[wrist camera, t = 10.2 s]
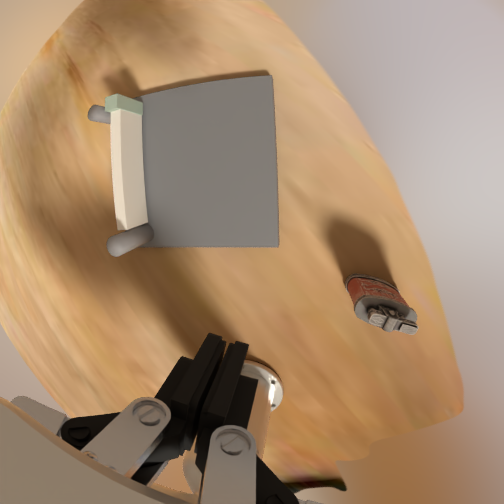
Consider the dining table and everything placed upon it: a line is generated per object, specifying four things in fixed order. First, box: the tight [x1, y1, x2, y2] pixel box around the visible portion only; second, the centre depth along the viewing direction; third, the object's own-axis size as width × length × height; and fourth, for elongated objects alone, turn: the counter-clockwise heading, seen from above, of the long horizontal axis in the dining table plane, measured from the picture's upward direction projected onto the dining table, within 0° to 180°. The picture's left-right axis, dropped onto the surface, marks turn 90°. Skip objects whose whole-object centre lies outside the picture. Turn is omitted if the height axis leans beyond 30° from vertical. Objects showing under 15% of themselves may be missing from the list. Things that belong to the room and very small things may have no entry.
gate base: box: [88, 75, 279, 257], centre depth 30 cm, size 21×21×9 cm
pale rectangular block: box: [105, 93, 148, 230], centre depth 30 cm, size 16×2×6 cm, turn 3°
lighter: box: [345, 274, 418, 335], centre depth 30 cm, size 8×3×10 cm, turn 74°
